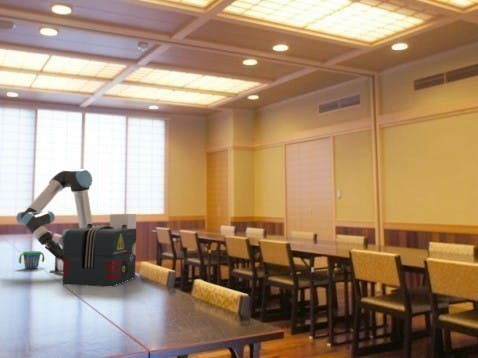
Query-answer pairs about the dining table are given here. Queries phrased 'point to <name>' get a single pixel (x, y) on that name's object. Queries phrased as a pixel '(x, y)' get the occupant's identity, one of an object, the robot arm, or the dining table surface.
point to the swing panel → (60, 264)
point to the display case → (123, 222)
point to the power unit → (99, 255)
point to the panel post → (56, 267)
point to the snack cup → (31, 259)
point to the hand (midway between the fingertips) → (70, 266)
